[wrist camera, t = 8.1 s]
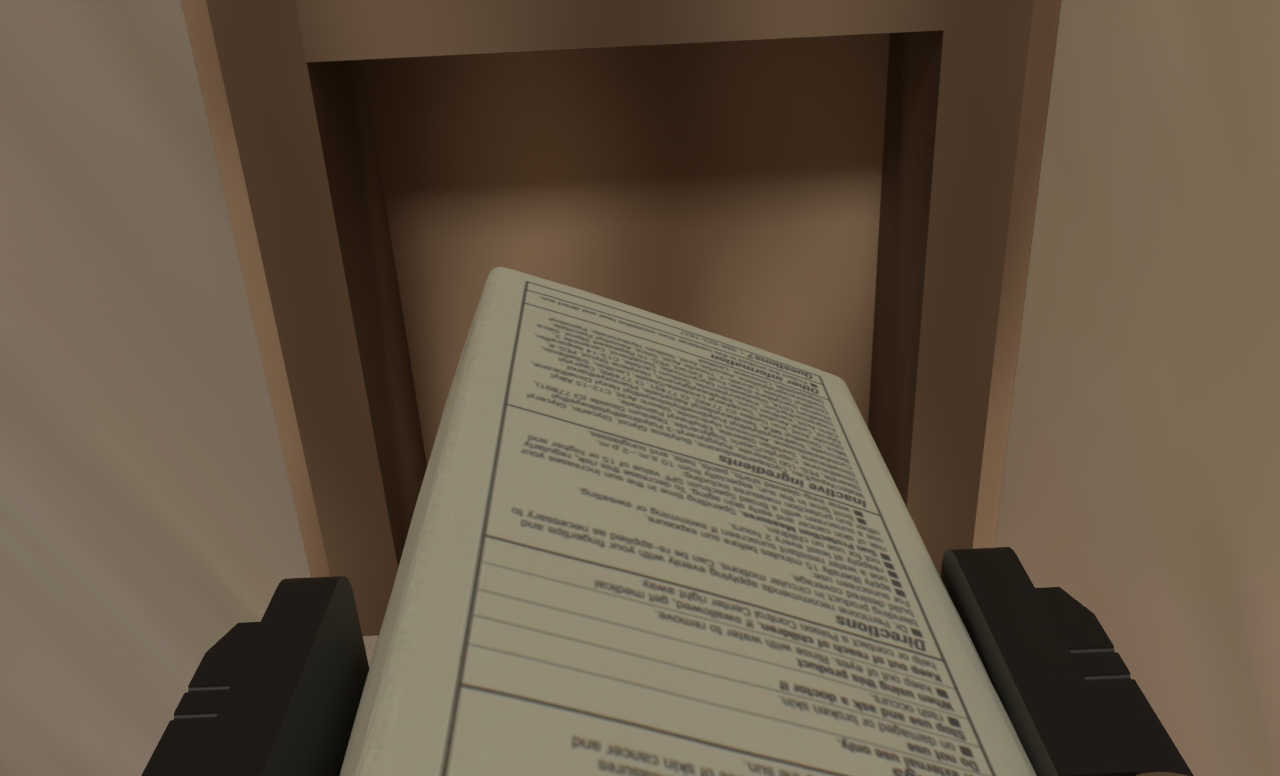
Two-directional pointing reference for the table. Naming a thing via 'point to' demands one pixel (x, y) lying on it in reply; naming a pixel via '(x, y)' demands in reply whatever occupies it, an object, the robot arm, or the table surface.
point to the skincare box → (663, 571)
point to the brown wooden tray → (628, 214)
